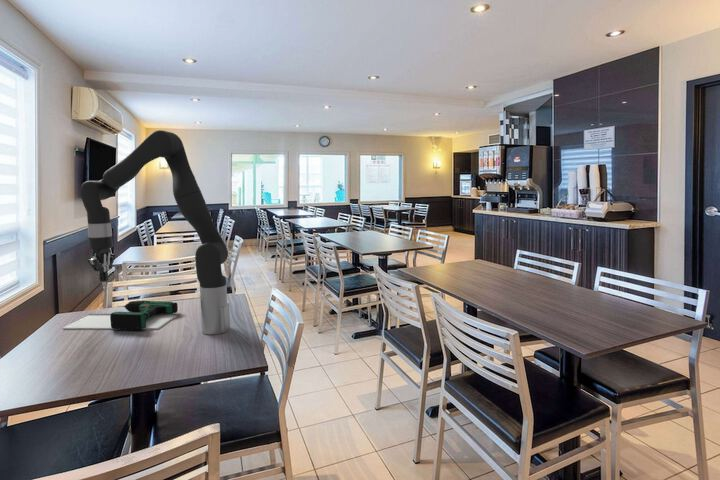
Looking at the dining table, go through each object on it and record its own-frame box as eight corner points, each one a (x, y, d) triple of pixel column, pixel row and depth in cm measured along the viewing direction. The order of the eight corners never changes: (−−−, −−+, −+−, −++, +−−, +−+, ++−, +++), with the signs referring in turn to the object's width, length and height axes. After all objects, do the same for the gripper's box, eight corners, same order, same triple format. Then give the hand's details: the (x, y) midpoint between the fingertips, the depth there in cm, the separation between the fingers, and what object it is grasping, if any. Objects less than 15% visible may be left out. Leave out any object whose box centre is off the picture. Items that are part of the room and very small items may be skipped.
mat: (177, 315, 170) (176, 313, 170) (157, 329, 155) (157, 326, 154) (90, 315, 171) (90, 313, 171) (62, 329, 155) (62, 326, 155)
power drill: (140, 315, 150) (180, 298, 175) (71, 313, 155) (119, 297, 180) (141, 330, 151) (181, 311, 175) (72, 327, 156) (120, 310, 180)
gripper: (99, 237, 145) (103, 285, 148) (120, 233, 159) (124, 277, 161) (77, 237, 145) (82, 285, 148) (101, 233, 159) (105, 277, 161)
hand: (104, 281), depth 154 cm, fingers closed
